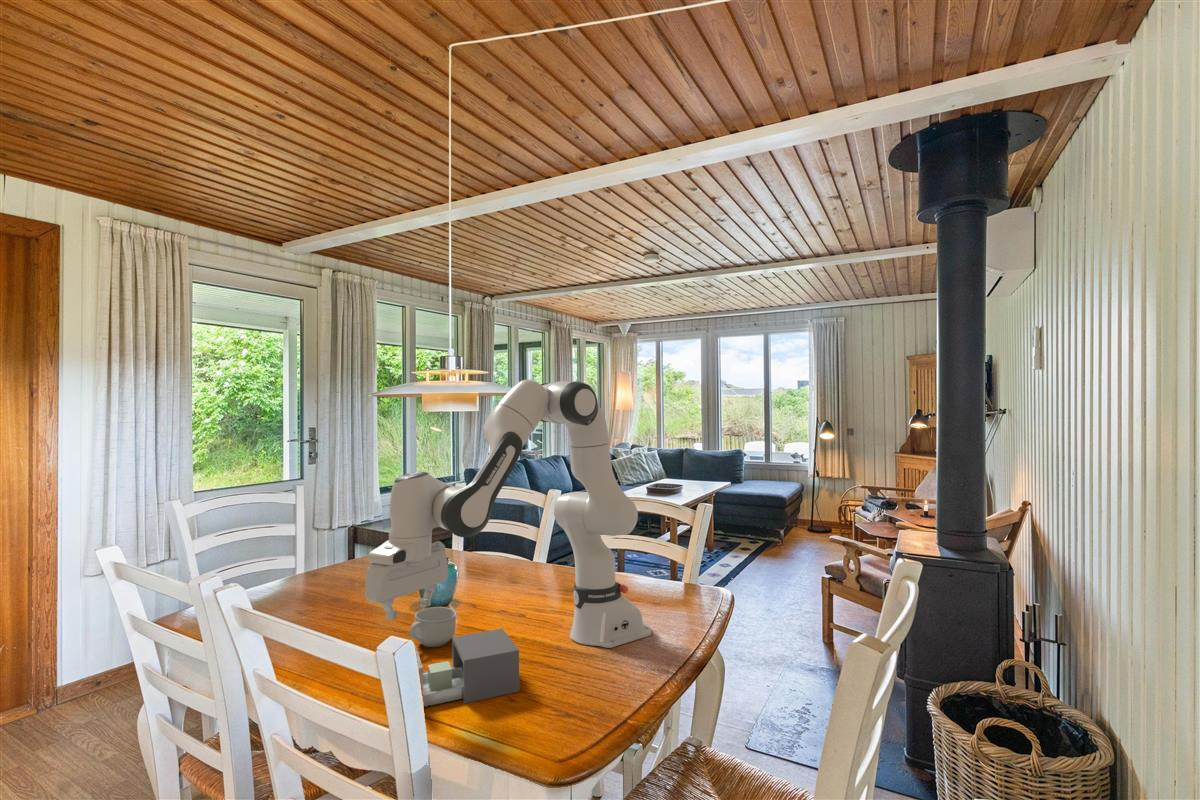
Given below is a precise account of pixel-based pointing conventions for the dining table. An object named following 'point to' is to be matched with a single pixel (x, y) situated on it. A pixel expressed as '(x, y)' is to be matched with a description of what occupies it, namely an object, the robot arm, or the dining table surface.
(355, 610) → the dining table surface
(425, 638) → the teacup
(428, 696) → the tray
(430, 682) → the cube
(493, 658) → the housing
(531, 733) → the dining table surface
